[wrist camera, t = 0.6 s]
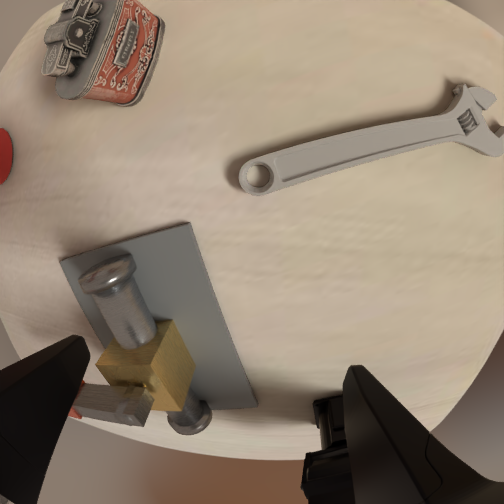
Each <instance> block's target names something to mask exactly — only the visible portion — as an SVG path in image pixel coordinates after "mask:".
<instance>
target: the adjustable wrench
mask: <svg viewBox="0 0 504 504" xmlns="http://www.w3.org/2000/svg"><path fill="white" fill-rule="evenodd" d="M452 91H453V93H454V94H455V96H454V99H453V100H452V102H451V104H450V105H449V107H448V108H447V109H446V110H445V111H444V112H442V113H440V114H438V115H434V116H429V117H422V118H415V119H409V120H403V121H398V122H392V123H387V124H382V125H377V126H372V127H367V128H363V129H358V130H354V131H349V132H345V133H341V134H337V135H333V136H329V137H325V138H321V139H317V140H313V141H310V142H306V143H302V144H299V145H295V146H292V147H288V148H285V149H282V150H278V151H275V152H272V153H268V154H265V155H262V156H259V157H256V158H253V159H251V160H249V161H247V162H246V163H245V164H244V165H243V166H242V167H241V169H240V172H239V182H240V185H241V187H242V188H243V189H244V190H245V191H246V192H247V193H249V194H251V195H254V196H262V195H266V194H269V193H272V192H275V191H278V190H281V189H284V188H287V187H290V186H293V185H296V184H299V183H302V182H305V181H308V180H311V179H314V178H317V177H321V176H324V175H327V174H330V173H334V172H337V171H340V170H344V169H347V168H350V167H354V166H357V165H361V164H364V163H368V162H371V161H375V160H378V159H382V158H385V157H389V156H393V155H397V154H400V153H404V152H408V151H412V150H416V149H420V148H424V147H428V146H432V145H436V144H440V143H445V142H455V143H459V144H462V145H464V146H467V147H469V148H471V149H473V150H475V151H477V152H478V153H480V154H482V155H486V156H491V157H499V156H501V155H502V154H503V153H504V126H501V127H500V128H499V129H498V130H497V131H496V133H495V134H494V133H493V132H492V131H491V130H489V127H488V125H487V123H486V121H485V119H484V117H483V115H482V110H487V109H488V108H489V107H490V106H491V105H492V104H493V103H494V102H495V101H496V100H497V98H496V96H495V95H494V94H493V93H492V92H490V91H489V90H487V89H485V88H482V87H470V88H467V86H466V84H459V85H457V86H456V88H455V89H453V90H452ZM254 165H263V166H265V167H266V168H267V169H268V170H269V172H270V180H269V182H268V183H267V184H266V185H265V186H263V187H260V188H258V187H254V186H252V185H251V184H249V182H248V180H247V172H248V170H249V169H250V167H252V166H254Z"/></svg>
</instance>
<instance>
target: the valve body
mask: <svg viewBox="0 0 504 504" xmlns="http://www.w3.org/2000/svg"><path fill="white" fill-rule="evenodd" d="M136 269H137V265H136V263H135V260H134V258H133V255H132V254H127V255H120V256H115V257H112V258H109V259H107V260H104V261H102V262H100V263H98V264H96V265H94V266H92V267H91V268H89V269H88V270H86V271H85V272H84V273H83V274H82V275H81V276H80V277H79V278H78V283H79V285H80V287H81V289H82V291H83V293H84V294H87V295H91V294H92V296H93V298H94V300H95V302H96V304H97V306H98V308H99V310H100V311H101V313H102V315H103V317H104V319H105V321H106V323H107V324H108V326H109V328H110V330H111V331H112V333H113V335H114V338H113V339H112V341H111V342H110V344H109V345H108V346H107V348H106V349H105V351H104V352H103V354H102V355H101V357H100V358H99V360H98V361H97V363H96V364H95V365H96V367H97V368H98V369H99V371H100V372H101V374H102V375H103V376H104V378H105V379H106V380H107V382H108V383H109V384H110V386H123V387H127V386H129V385H133V386H136V387H146V388H147V390H148V391H149V393H150V394H151V395H152V397H153V398H154V399H155V400H154V402H153V405H152V407H151V410H159V411H166V413H167V414H168V416H167V418H168V422H169V424H170V425H171V427H172V428H173V429H174V430H175V431H176V432H177V433H179V434H182V435H194V434H197V433H199V432H201V431H203V430H204V429H205V428H206V427H207V426H208V425H209V424H210V422H211V419H212V411H211V408H210V407H209V405H208V404H207V402H206V401H205V400H199V399H198V397H197V396H196V394H195V393H194V391H193V389H192V388H191V386H190V383H191V380H192V377H193V374H194V370H195V367H196V365H195V363H194V361H193V359H192V357H191V355H190V353H189V351H188V349H187V347H186V345H185V343H184V341H183V339H182V337H181V335H180V333H179V331H178V329H177V327H176V325H175V323H174V321H173V319H172V320H164V321H156V322H155V321H154V319H153V317H152V315H151V313H150V311H149V309H148V307H147V305H146V303H145V300H144V298H143V296H142V294H141V292H140V290H139V287H138V285H137V283H136V281H135V278H134V276H133V273H134V272H135V271H136Z"/></svg>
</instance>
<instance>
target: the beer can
mask: <svg viewBox="0 0 504 504" xmlns="http://www.w3.org/2000/svg"><path fill="white" fill-rule="evenodd" d="M12 160H13V146H12V142H11V138H10V136H9V134H8V132H7V131H6V130H4V129H3V128H0V184H2V183H3V182H4V181H5V180H6V179H7V177H8V175H9V173H10V170H11V166H12Z"/></svg>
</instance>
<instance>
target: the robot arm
mask: <svg viewBox="0 0 504 504" xmlns="http://www.w3.org/2000/svg"><path fill="white" fill-rule="evenodd" d="M89 361H90V352H89V349H88V347H87V344H86V342H85V339H84V338H83V337H82V336H79V335H71V336H69V337H67V338H65V339H63V340H61V341H59V342H57V343H55V344H53V345H51V346H49V347H46V348H44V349H42V350H40V351H38V352H36V353H34V354H32V355H30V356H28V357H26V358H24V359H22V360H20V361H18V362H16V363H14V364H12V365H10V366H8V367H6V368H4V369H2V370H0V504H9V501H11V502H13V503H14V504H37V501H38V498H39V494H40V491H41V487H42V484H43V481H44V478H45V474H46V471H47V469H48V466H49V463H50V460H51V457H52V454H53V452H54V449H55V446H56V443H57V441H58V438H59V436H60V433H61V431H62V429H63V426H64V424H65V421H66V419H67V417H68V414H69V412H70V410H71V407H72V405H73V403H74V401H75V398H76V396H77V394H78V391H79V389H80V386H81V383H82V380H83V377H84V374H85V372H86V369H87V366H88V363H89ZM313 408H314V413H315V419H316V425H317V428H318V429H320V437H321V447H322V450H320V451H316V452H312V453H311V452H309V453H306V456H305V459H304V467H303V475H302V482H301V490H303V491H304V494H305V496H306V498H307V499H308V504H504V482H496V481H492V480H489V479H487V478H485V477H483V476H482V475H480V474H479V473H477V472H476V471H475V470H474V469H472V468H471V467H470V466H468V465H467V464H466V463H464V462H463V461H462V460H460V459H459V458H458V457H457V456H455V455H454V454H453V453H452V452H451V451H449V450H448V449H447V448H446V447H445V446H444V445H443V444H442V443H441V442H440V441H438V440H437V439H436V438H435V437H434V436H433V435H432V434H431V433H430V434H429V431H428V430H427V429H426V428H425V427H424V426H423V425H422V424H421V423H420V422H419V421H418V420H417V419H416V418H415V417H414V416H413V415H412V414H411V413H410V412H409V411H408V410H407V409H406V408H405V407H404V406H403V405H402V404H401V403H400V402H399V401H398V400H397V399H396V398H395V397H394V396H393V395H392V394H391V393H390V392H389V391H388V390H387V389H386V388H385V387H384V386H383V385H382V384H381V383H380V382H379V381H378V380H377V379H376V378H375V377H374V376H373V375H372V374H371V373H370V372H369V371H368V370H367V369H366V368H365V367H364V366H362V365H351V366H350V367H349V368H348V371H347V373H346V376H345V379H344V382H343V395H341V396H336V397H331V398H326V399H321V400H316V401H314V402H313Z"/></svg>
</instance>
